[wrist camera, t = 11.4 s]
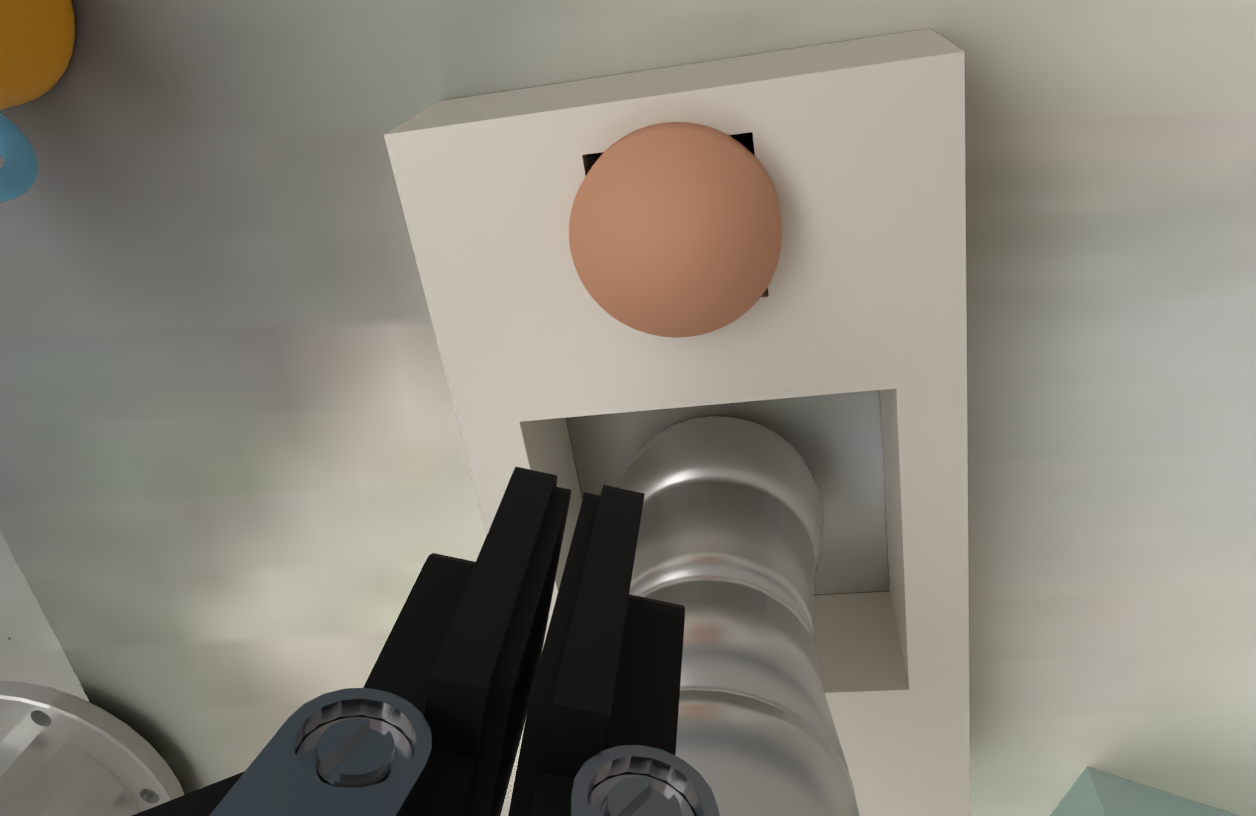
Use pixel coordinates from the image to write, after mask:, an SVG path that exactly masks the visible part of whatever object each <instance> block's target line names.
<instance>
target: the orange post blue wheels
mask: <svg viewBox="0 0 1256 816" xmlns="http://www.w3.org/2000/svg"><path fill="white" fill-rule="evenodd" d="M75 35H76V33H75V14H74V9H73V5H72V0H0V110H1V109H5V108H9V107H13V106H17V105H20V104H23V103H27V102H30V101H32V100H35V99H37V98H39V97H40V96H42V95H44V94H45V93H46V92H48V91H49V90H50V89H51V88H52V87H53V86H54V85H55V84H56V83H57V82H58V80H59V79H60V77H61V76H62V75H63V73H64V72H65V70H66V69H67V66H68V64H69V61H70V58H71V56H72V54H73V48H74V41H75ZM0 155H1V157H2V159H3V166H2V167H1V168H0V202H5V201H9V200H12V199H15V198H17V197H19V196H21V195H23V194H24V193H25V192H27V191H28V190H29V189H30V188H31V187H32V185H33V184H34V182H35V180H36V177H37V173H38V162H37V158H36V155H35V152H34V150H33V148H32V146H31V144H30V142H29V141H28V139H27V138H26V137H25V135H24V134H23V133H22V132H21V131H20V129H19V128H18V127H17V126H16V125H15V124H14V123H13V122H12V121H10V120H9V119H8V118H7V117H6V116H5V115H3V114H2V113H1V112H0Z"/></svg>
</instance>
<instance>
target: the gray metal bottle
mask: <svg viewBox="0 0 1256 816" xmlns="http://www.w3.org/2000/svg"><path fill="white" fill-rule="evenodd" d="M618 488H621V489H626V490H631V491H636V492H640V493H644V494H645V495H644V502H643V508H642V514H641V521H640V527H639V534H638V540H637V547H636V553H635V559H634V566H633V572H632V579H631V585H630V591H629V594H631V595H636V596H640V597H645V598H650V599H655V600H659V601H664V602H669V603H674V604H679V605H683V606H684V607H685V623H684V638H683V653H682V667H681V682H680V697H679V711H678V726H677V741H676V755H675V756H677V757H679V758H681V759H683V760H684V761H685V762H687V763H688V764H689V765H690V766H692V767H693V768H694V769H695V770H697V771H698V772H699V773H700V774H701V776H702V777H703V778H704V780H705V781H706V782H707V784H708V785H709V786H710V788H711V789H712V791H713V794H714V797H715V800H716V803H717V806H718V809H719V815H720V816H860V815H859V811H858V806H857V802H856V797H855V792H854V787H853V782H852V779H851V777H850V775H849V770H848V767H847V763H846V760H845V757H844V754H843V750H842V747H841V744H840V741H839V738H838V734H837V731H836V728H835V725H834V721H833V718H832V715H831V712H830V709H829V705H828V702H827V699H826V696H825V692H824V688H823V683H822V677H821V671H820V665H819V659H818V653H817V648H816V642H815V636H814V630H813V615H814V586H815V572H816V570H817V566H818V562H819V559H820V554H821V544H822V535H823V525H824V510H823V504H822V498H821V496H820V493H819V491H818V488H817V486H816V484H815V481H814V479H813V477H812V475H811V473H810V471H809V469H808V467H807V464H806V463H805V461H804V460H803V458H802V457H801V456H800V454H799V453H798V451H797V450H796V449H795V448H794V447H793V446H792V445H791V444H790V443H789V442H787V441H786V440H785V439H784V438H783V437H781V436H780V435H778V434H777V433H775V432H773V431H772V430H770V429H769V428H767V427H764V426H762V425H759V424H757V423H754V422H751V421H748V420H743V419H738V418H734V417H719V416H709V417H702V418H694V419H690V420H687V421H684V422H680V423H677V424H674V425H672V426H670V427H669V428H667V429H665V430H663V431H661V432H659V433H658V434H656V435H655V436H654V437H653V438H652V439H650V440H649V441H648V442H647V443H645V444H644V446H643V447H642V448H641V449H640V451H639V452H638V453H637V454H636V456H635V457H634V459H633V460H632V462H631V464H630V465H629V467H628V469H627V471H626V472H625V474H624V476H623V478H622V480H621V482H620V484H619V486H618Z"/></svg>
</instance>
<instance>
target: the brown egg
mask: <svg viewBox="0 0 1256 816" xmlns="http://www.w3.org/2000/svg"><path fill="white" fill-rule="evenodd" d="M569 243H570V251H571V255H572V259H573V263H574V266H575V268H576V271H577V273H578V276H579V278H580V280H581V281H582V283H583V285H584V287H585V288H586V290H587V291H588V293H589V294H590V295H591V297H592V298H593V299H594V300H595V301H596V302H597V303H598V304H599V306H600V307H601V308H602V309H604V310H605V311H606V312H607V313H608V314H610V315H611V316H612V317H614V318H615V319H617V320H618V321H620V322H621V323H623V324H625V325H627V326H629V327H631V328H633V329H635V330H638V331H641V332H644V333H647V334H651V335H656V336H661V337H673V338H677V337H691V336H698V335H702V334H706V333H709V332H713V331H715V330H718V329H720V328H722V327H725V326H727V325H728V324H730V323H732V322H733V321H735V320H737V319H738V318H739V317H741V316H742V315H743V314H745V313H746V312H747V311H748V310H749V309H750V308H751V307H752V306H753V305H754V304H755V303H756V302H757V301H758V300H759V298H760V297H761V296H762V295H763V293H764V292H765V290H766V289H767V287H768V285H769V283H770V282H771V280H772V278H773V275H774V273H775V270H776V268H777V265H778V261H779V257H780V253H781V244H782V224H781V213H780V207H779V201H778V198H777V194H776V191H775V188H774V186H773V184H772V181H771V179H770V177H769V175H768V174H767V172H766V170H765V169H764V167H763V166H762V164H761V163H760V162H759V161H758V159H757V158H756V157H755V156H754V155H753V154H752V153H751V152H750V151H749V150H748V149H747V148H746V147H745V146H744V145H743V144H741V143H740V142H738V141H737V140H735V139H734V138H732V137H731V136H729V135H727V134H725V133H723V132H721V131H719V130H716V129H714V128H711V127H708V126H705V125H700V124H695V123H688V122H666V123H659V124H654V125H649V126H646V127H644V128H641V129H638V130H635V131H633V132H631V133H630V134H628V135H626V136H624V137H622V138H621V139H619V140H618V141H617V142H615V143H614V144H612V145H611V146H610V147H609V148H608V149H607V150H606V151H605V152H604V153H602V155H601V156H600V157H599V158H598V160H597V161H596V162H595V163H594V164H593V166H592V168H591V169H590V171H589V172H588V174H587V175H586V177H585V179H584V180H583V182H582V183H581V185H580V187H579V189H578V192H577V194H576V196H575V199H574V202H573V206H572V209H571V214H570V221H569Z"/></svg>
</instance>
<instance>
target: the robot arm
mask: <svg viewBox="0 0 1256 816" xmlns="http://www.w3.org/2000/svg"><path fill="white" fill-rule="evenodd" d="M556 486H557V475H554V474H549V473H544V472H540V471H535V470H530V469H525V468H520V467H515V469H514V471H513V473H512V476H511V478H510V480H509V483H508V485H507V488H506V490H505V493H504V495H503V498H502V500H501V502H500V505H499V507H498V510H497V512H496V515H495V517H494V519H493V522H492V524H491V527H490V529H489V532H488V534H487V537H486V539H485V541H484V544H483V546H482V549H481V551H480V554H479V556H478V558H477V561H476V562H473V561H468V560H463V559H458V558H454V557H449V556H444V555H439V554H435V553H432V554H431V555H429V557H428V558H427V560H426V562H425V564H424V566H423V568H422V570H421V572H420V574H419V576H418V578H417V580H416V582H415V584H414V586H413V588H412V590H411V592H410V594H409V596H408V598H407V600H406V602H405V604H404V606H403V608H402V610H401V612H400V615H399V617H398V619H397V621H396V623H395V625H394V627H393V629H392V631H391V633H390V635H389V637H388V639H387V641H386V643H385V645H384V647H383V649H382V651H381V653H380V655H379V657H378V659H377V661H376V663H375V665H374V667H373V669H372V671H371V673H370V675H369V678H368V680H367V682H366V684H365V686H364V688H348V689H342V690H338V691H334V692H330V693H325V694H323V695H321V696H319V697H317V698H315V699H313V700H311V701H309V702H307V703H305V704H303V705H302V706H301V707H300V708H299V709H298V710H297V711H296V712H294V713H293V714H292V715H291V716H290V717H289V718H288V719H287V720H286V722H285V723H284V724H283V725H282V727H281V728H280V729H279V730H278V731H277V733H276V734H275V735H274V736H273V738H272V739H271V740H270V741H269V743H268V744H267V745H266V746H265V747H264V749H263V750H262V751H261V752H260V754H259V755H258V756H257V757H256V759H255V760H254V761H253V762H252V763H251V765H250V766H249V767H248V768H247V770H246V771H245V772H242V773H240V774H237V775H235V776H232V777H230V778H227V779H224V780H222V781H219V782H217V783H214V784H212V785H209V786H206V787H204V788H201V789H199V790H196V791H194V792H191V793H188V794H186V795H184V792H183V790H182V787H181V785H180V783H179V781H178V779H177V778H176V776H175V775H174V773H173V772H172V770H171V768H170V767H169V765H168V764H167V762H166V761H165V760H164V759H163V758H162V757H161V755H160V754H159V753H158V752H157V751H156V750H155V749H154V748H153V747H152V746H151V744H150V743H149V742H148V741H146V740H145V739H144V738H143V737H142V736H140V735H139V734H138V733H137V732H136V731H134V730H133V729H132V728H131V727H130V726H129V725H127V724H126V723H124V722H123V721H121V720H119V719H118V718H116V717H115V716H113V715H112V714H110V713H109V712H107V711H105V710H104V709H102V708H100V707H98V706H96V705H94V704H92V703H89V702H87V701H85V700H83V699H81V698H79V697H77V696H74V695H71V694H68V693H65V692H62V691H59V690H56V689H53V688H50V687H45V686H40V685H35V684H30V683H24V682H10V681H0V816H500V814H501V810H502V807H503V803H504V799H505V795H506V791H507V788H508V784H509V780H510V776H511V772H512V769H513V765H514V761H515V757H516V754H517V750H518V746H519V742H520V738H521V735H522V731H523V727H524V723H525V727H524V733H523V738H522V744H521V749H520V755H519V760H518V766H517V771H516V777H515V782H514V788H513V793H512V799H511V804H510V810H509V815H508V816H720V815H719V809H718V806H717V803H716V800H715V797H714V794H713V791H712V789H711V788H710V786H709V785H708V784H707V782H706V781H705V780H704V778H703V777H702V776H701V774H700V773H699V772H698V771H697V770H695V769H694V768H693V767H692V766H690V765H689V764H688V763H687V762H685V761H684V760H683V759H681V758H679V757H677V756H675V755H676V741H677V726H678V711H679V697H680V682H681V667H682V653H683V638H684V623H685V607H684V606H683V605H679V604H674V603H669V602H664V601H659V600H655V599H650V598H645V597H640V596H636V595H631V594H629V591H630V585H631V579H632V572H633V566H634V559H635V553H636V547H637V540H638V534H639V527H640V521H641V514H642V508H643V502H644V495H645V494H644V493H640V492H636V491H631V490H626V489H621V488H616V487H612V486H607V485H603V488H602V493H601V496H600V495H595V494H590V493H584V496H583V500H582V504H581V508H580V511H579V515H578V519H577V523H576V526H575V530H574V534H573V538H572V541H571V545H570V549H569V553H568V556H567V560H566V564H565V568H564V572H563V575H562V579H561V583H560V587H559V590H558V594H557V598H556V602H555V605H554V609H553V613H552V617H551V621H550V624H549V628H548V632H547V636H546V639H545V643H544V638H545V633H546V628H547V622H548V617H549V611H550V606H551V600H552V595H553V590H554V584H555V579H556V573H557V568H558V562H559V557H560V552H561V546H562V541H563V535H564V530H565V524H566V519H567V514H568V508H569V503H570V497H571V489H566V488H561V487H556ZM543 644H544V647H543ZM542 649H543V651H542ZM526 716H527V717H526ZM525 719H526V722H525Z"/></svg>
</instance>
